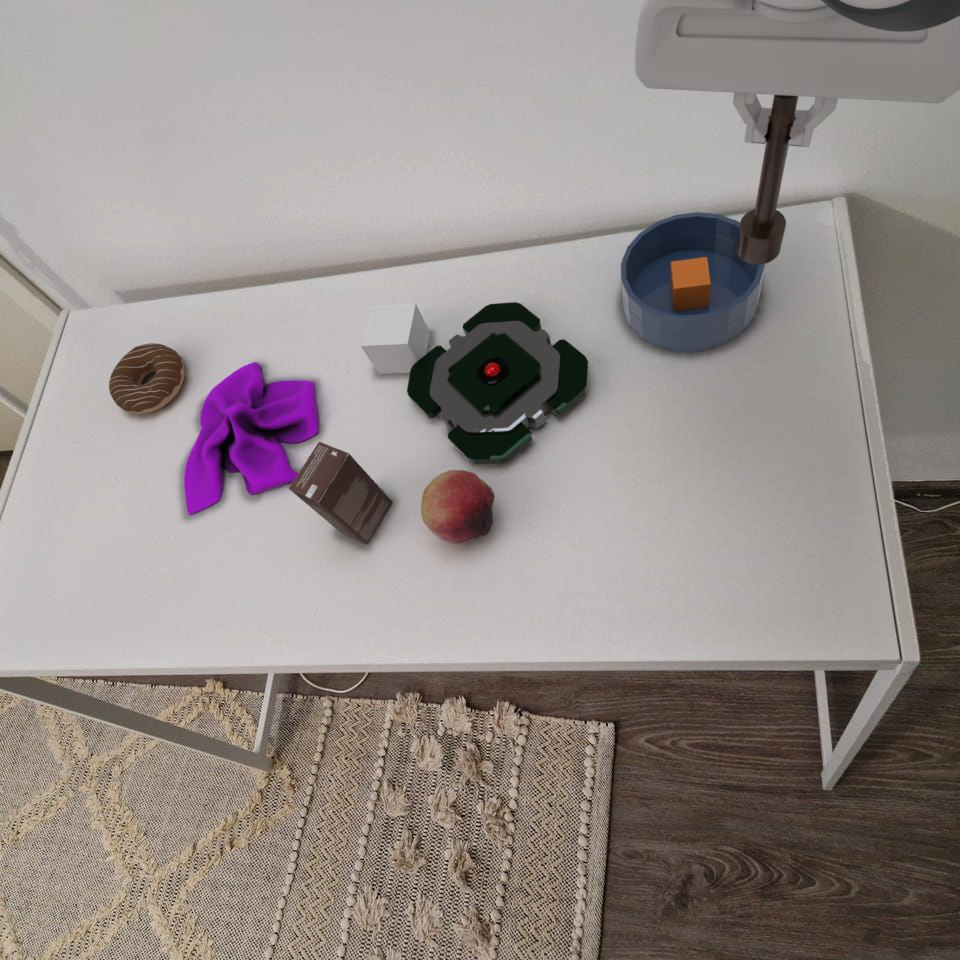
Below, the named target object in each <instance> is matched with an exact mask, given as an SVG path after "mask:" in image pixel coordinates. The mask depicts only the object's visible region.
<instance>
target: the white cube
mask: <svg viewBox="0 0 960 960" xmlns="http://www.w3.org/2000/svg"><path fill="white" fill-rule="evenodd" d="M430 337H431V332H430V330H429V328H428V326H427V323H426V322H425V319H424V317H423V315H422V313H421V311H420V309H419V307H418V305H417V303H416V302H412V303H398V304H397V303H395V304H379V305H378V304H377V305H370V306H369V309H368V314H367V317H366V321H365V326H364V330H363V334H362V338H361V342H360V343H361V344H360V348H361V349H362V350H363V352H364V353H365V355H366V357H367V358H368V360H369V361H370V362H371V365H372V366H373V368H374V370H375V371H376V372H377V375H391V374H393V375H394V374H410V370H411V368H412V366H413V365H414V364H415V363H416V362H417V361H418V360H420V359H421V358H422V357H423V356H425V355H426V354H427V353H428V348H429V342H430V339H431V338H430Z"/></svg>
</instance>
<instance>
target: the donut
mask: <svg viewBox="0 0 960 960" xmlns="http://www.w3.org/2000/svg"><path fill="white" fill-rule="evenodd" d="M184 365H185V364H184V362H183V358H182V357H181V356H180V355H179V354H178V352H177V351H176V350H174V349H173V348H171V347H169V346H167V345H165V344H163V343H155V342H153V343H152V342H151V343H144V344H140V345H136V346H134V347H133V348H132V349H130V350H129V351H128V352H127V353H125V354H124V355H123V356H122V357H121V359H120V360H119V361H118V362H117V364H116V365H115V367H114V369H112V372H111V374H110V377H109V381H108V390H109V395H110V396H111V398H112V400H113V401H114V403H115V404H116V406H118V407H119V408H121V409H122V410H123V411H124V412H128V413H132V414H148V413H153V412H154V411H157V410H160V409H162V408H163V407H164V406H166V405H168V403H170V402H171V401H172V400H173V399H174V398H175V397H176V396H177V394H178V393H179V391H180V390H181V387H182V385H183V382H184V379H185V366H184ZM153 372H154V373H155V376H154V377H153V379H152V380H151V381H149V382H147V383H145V384H144V383H143V384H142V381H143V380H144V379H145V378H146V377H147V376H148V375H150V374H151V373H153Z"/></svg>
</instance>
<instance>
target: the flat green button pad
mask: <svg viewBox="0 0 960 960" xmlns="http://www.w3.org/2000/svg"><path fill="white" fill-rule="evenodd" d="M462 330H463V333H464V335H460V334H457V333H456V334H455V335H454V336H452V337H451V338H450V339H449V340H448V345H449V346H450V347H449V348H448V349H445V348H444V347H443V345H436V346H435V347H433V348H432V349H430V351H427V354H426V355H425V356H423V357H422V358H421V359H420V360H418V361H417V362H416V363H415V364H414V365H413V366H412V368H411V370H410V373H409V376H408V382H407V388H406V394H407V396H408V397H409V399H410V401H411V402H412V403H413V404H414V405H415V406H416V407H417V408H418V409H419V410H420V411H421V412H422V413H423V414H424V416H426V417H427V418H428V419H429V420H430V419H431V420H432V419H435V418H436V417H437V416H439V418H440V420H441V422H442V424H443V425H444V427H445V428H446V429H447V430H448V431H449V432H448V433H447V439H448V441H449V443H450V444H451V445H452V446H453V448H455V449H456V450H457V451H458V452H459V453H460V454H461V455H462V456H463V457H464V458H465V459H466V460H467V462H469V463H470V464H473V465H504V464H507V463H509V462H510V461H511V460H512V459H514V457H516V456H517V455H518V454H519V453H520V452H521V451H523V450H524V449H525V448H526V447H528V445H530V444H531V443H532V442H533V441H534V437H533V433H532V430H531V429H530V428H529V427H531V428H535V429H539V428H540V427H541V426H542V425H544V424H545V423H546V422H547V420H546V415H545V414H546V413H547V412H549V411H551V412H552V413H553V414H554V415H555V416H556V417H561V416H563V415H564V414H565V413H567V411H569V410H570V409H571V408H572V407H574V406H575V405H576V404H577V403H579V401H581V400H582V399H583V398H584V397H585V396H586V395H587V393H588V392H589V381H590V364H589V360H588V358H587V356H586V355H585V354H583V353H582V352H581V351H580V350H579V349H577V348H576V347H575V346H574V345H572V344H571V342H568V341H567V340H566V339H564V338H562V339H558V340H557V341H556V342H555V343H554V344H552V342H551V338H550V334H549V333H548V332H547V331H546V330H545V329H542V322H541V319H540V317H538V316H537V315H536V314H535V313H533V311H531V310H530V309H528V308H527V307H526V306H524V305H523V304H522V303H520V302H517V301H513V302H497V303H490V304H487V305H485V306H483V307H482V308H481V309H480V310H479V311H478V312H476V313H475V314H474V315H473V316H471V317H470V318H468V320H466V321H465V322H464V323H463V324H462Z"/></svg>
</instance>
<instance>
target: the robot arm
mask: <svg viewBox="0 0 960 960" xmlns="http://www.w3.org/2000/svg"><path fill="white" fill-rule="evenodd" d="M637 22H638V23H637V29H636V37H635V46H634V47H635V49H634V72H635V76H636V77H637V79H638V80H639V81H640V82H641V83H642V84H643V86H644V87H646V88H647V89H653V90H658V89H659V90H672V91H673V90H674V91H675V90H676V91H693V92H695V91H697V92H712V93H731V94H733V99H732V104H733V106H734V108H735V110H736V111H737V113H738V115H739V117H740V118H741V120H742V122H743V123H744V124H745V125H746V128H745V136H744V143H748V144H761V145H766V140H767V134H768V128H769V122H770V116H771V109H772V107H771V108H769V107H763V106H762V104H761V102H760V100H759V97H758V96H757V95H769V96H774V95H787V96H799V97H806V98H807V97H808V98H814V102H813V104H812V105H811V107H809V109H808V110H807V109H805V110H803V109H796V112H795V117H794V121H793V122H792V126H791V130H790V137H789V140H788V145H789V147H791V146H792V147H799V148H810V144H811V141H812V137H813V134H814V130H815V129H816V128H817V127H818V126H820V125H821V123H823V122H824V121H825V120H826V119H827V118H828V117H830V115H832V113H833V112H835V110H836V107H837V104H838V100H839V99H843V100H844V99H846V100H863V101H881V102H899V103H900V102H903V103H920V104H921V103H923V104H940V103H941V104H942V103H944V102H945V101H947V100H948V99H949V98H951V97H952V96H954V95H955V94H956V93H958V92H960V0H643V3H642V5H641V9H640V12H639V15H638V21H637Z"/></svg>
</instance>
